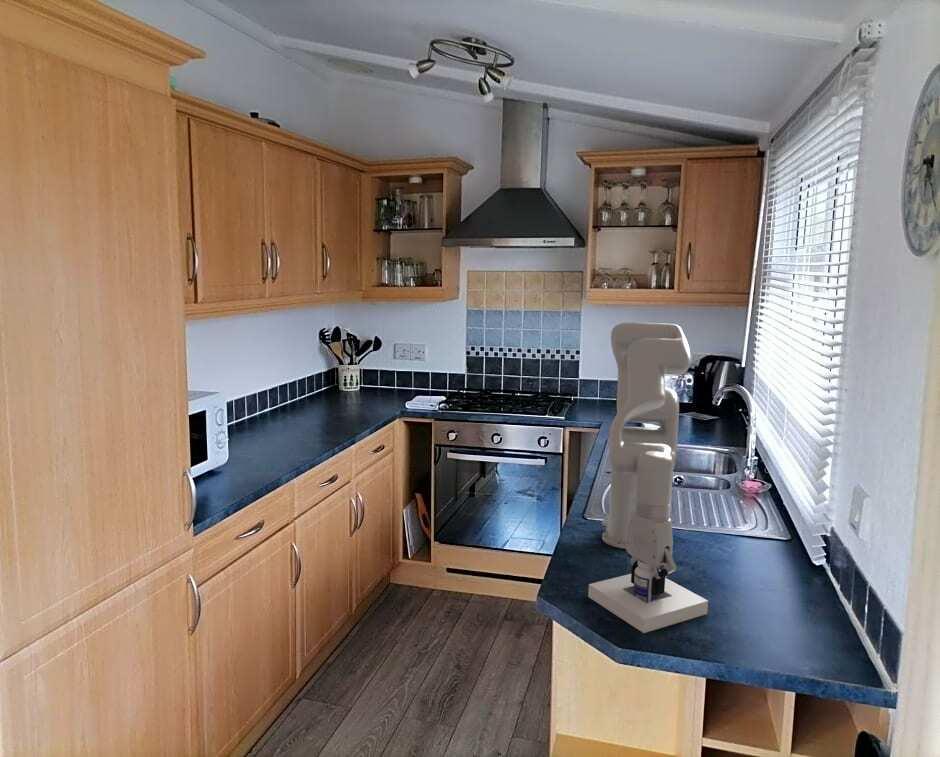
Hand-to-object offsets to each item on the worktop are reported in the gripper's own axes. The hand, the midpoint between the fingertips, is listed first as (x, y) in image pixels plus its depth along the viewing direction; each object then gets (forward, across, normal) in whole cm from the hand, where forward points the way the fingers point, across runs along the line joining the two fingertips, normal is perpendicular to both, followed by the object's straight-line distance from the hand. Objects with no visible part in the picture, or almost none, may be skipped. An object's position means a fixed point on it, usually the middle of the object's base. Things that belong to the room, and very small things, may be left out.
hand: (647, 587), depth 155 cm
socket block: (+4, 0, 0) cm, 4 cm away
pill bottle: (+4, 0, 0) cm, 4 cm away
